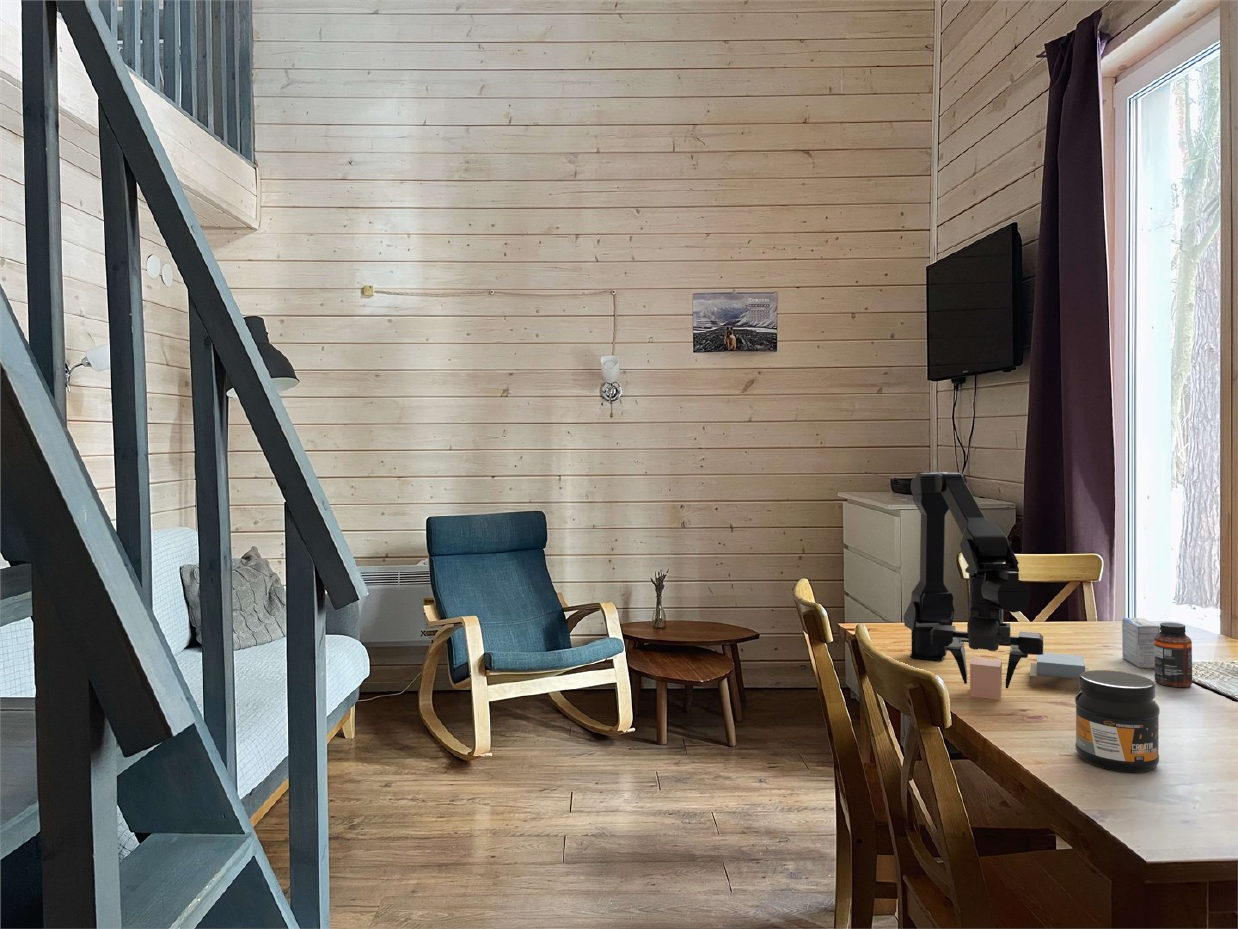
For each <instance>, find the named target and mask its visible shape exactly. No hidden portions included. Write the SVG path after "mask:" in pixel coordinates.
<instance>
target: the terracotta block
mask: <svg viewBox="0 0 1238 929" xmlns="http://www.w3.org/2000/svg"><path fill="white" fill-rule="evenodd" d="M1002 666H1003V662H1002V659H996V658H995V659H994V658H984V657H972V658H971V661H970V663H969V689H970V690H969V694H970V697H975V698H982V699H983V698H984V699H990V700H997V701H998V700H1000V701H1001V699H1002V694H1003V671H1002V670H1003V669H1002V668H1003V667H1002Z"/></svg>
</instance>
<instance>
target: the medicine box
mask: <svg viewBox="0 0 1238 929" xmlns="http://www.w3.org/2000/svg"><path fill="white" fill-rule="evenodd" d="M1121 621H1122V622H1121V626H1122V627H1121V629H1122V630H1121V632H1122V635H1121V637H1122V640H1121V641H1122V646H1121V647H1122V650H1121V651H1122V659H1124V660H1126V661H1128V662H1129V663H1131V664H1133V665H1134V666H1136V667H1137V668H1140V669H1155V658H1154V638H1155V636H1156V635H1157V634H1159V633H1160V632H1161V630H1160V625H1159V624H1157V623H1154V622H1152V621H1150V620H1148V619H1146V618H1143V617H1124V618H1122V620H1121Z"/></svg>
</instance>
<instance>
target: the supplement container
mask: <svg viewBox="0 0 1238 929" xmlns="http://www.w3.org/2000/svg"><path fill="white" fill-rule="evenodd" d="M1079 688H1080V690H1081V691H1078V693H1077V694H1076V695H1075V696H1074V703H1075V751H1076V753H1077V755H1078V756H1079V757H1080V758H1081V759H1083V760H1084V761H1086V762H1087V763H1089V764H1091V765H1094V766H1096V767H1099V768H1102V769H1105V770H1110V771H1114V772H1115V771H1116V772H1123V773H1124V772H1125V773H1143V772H1149V771H1151V770H1153V769H1155V768H1156V767H1157V766H1158V765H1159V762H1160V754H1159V742H1160V741H1159V730H1160V728H1159V727H1160V726H1159V722H1160V720H1159V718H1160V713H1161V711H1160V710H1161V708H1160V705H1159V704H1158V703H1157V702H1156V701H1155V700H1154V699H1156V684H1155V682H1154V681H1153V680H1152V679H1150V678H1148V677H1145V676H1143V675H1139V674H1136V673H1130V672H1124V671H1118V670H1103V669H1101V670H1097V669H1096V670H1094V669H1093V670H1089V671H1086V672H1083V673H1081V674H1080V675H1079Z"/></svg>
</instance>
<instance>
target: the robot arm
mask: <svg viewBox="0 0 1238 929" xmlns="http://www.w3.org/2000/svg"><path fill="white" fill-rule="evenodd" d="M910 491H911V495H912V501H913V503H914V504H915V507H916V508H917V510H918V511H919V514H920V543H919V544H920V547H919V548H920V551H919V555H920V556H919V581H918V582H917V584H916V585H915V587H914V588H913V590H912V591H911V595H910V596H911V597H910V602H909V603H908V606H907V608H906V611H905V612H904V615H903V623H904V626H905V627H906V628H908V629H909V630H911V633H910V634H911V639H910V640H911V653H910V655H909V658H911V657H912V658H911V659H918V660H919V659H921V660H928V661H929V660H931V661H940V662H942V661H943V660H944V659H945V658H944V657H946V656H947V655H948V651H949V652H950V653H951V654H952V656H953V658H954V660H955V662H956V664H957V667H958V669H959V673H960V675H961V678H962V681H963V684H964V685H967V683H968V669H967V659H966V658H967V657H966V651H965V649H966V648H965V643H968V648H970V649H971V650H987V651H989V652H996V651H998V650H999V646H1002V647H1010V650H1009V654H1008V655H1009V656H1008V662H1007V668H1006V669H1007V670H1006V676H1005V689H1009V686H1010V684H1011V681H1012V678H1013V675H1014V672H1015V670H1016V667H1017V666H1018V664H1019V662H1020V661H1021V659H1024V658H1025V659H1027V658H1029V655H1036V656H1037V655H1043V652H1044V636H1043V635H1042V634H1041V633H1040V632H1031V631H1030V632H1029V631H1020V630H1019V631H1018V635H1012V633H1011V623H1010V622H1009V623H1007V622H1004V611H1006V612H1009V613H1019V612H1021V611H1023V610H1024V609H1026V608H1027V607H1028V605H1029V603H1030V601H1031V592H1030V589H1029V587H1028V585H1027V584H1026V583H1025V582H1024V581H1022V580H1020V578H1019V577H1020V574H1019V573H1020V568H1019V564H1020V563H1019V560H1018V559H1017V557H1016V555H1015V552H1014V551H1013V549H1012V546H1011V544H1010V543H1011V542H1010V540H1008V537H1007V536H1006V535H1005V533H1004V532H1003V531H1002V530H1001V529H1000V527H999V526H998V525H996V524H994V523H992V522H990V521H989V520H987V519H986V517H985V515H984V513H983V511H982V510H981V508H980V506H979V505H978V503H977V501H976V499H975V497H974V495H973V494H972V492H971V490H970V488H969V486H968V485H967V478H966V476H965V474H964V473H960V472H946V471H945V472H918V473H917V474H916V475H915V477H913V478H912V479H911V481H910ZM948 511H950V513H951V514H952V517H953V518H954V521H955V523H956V525H957V527H958V529H959V530H960V533H961V535H962V536H961V539H960V542H959V546H960V550H961V555H962V557H963V559H964V561H965V563H966V564H967V566H966V568H965V570H964V572H965V573H967V574H968V621H967V624H966V625H967V629H966V631H959V630H956V625H953V622H954V617H955V616H954V614H955V607H954V595H953V594H952V593H951V592H950V591H949V589H948V588H947V587H946V585H945V539H946V538H945V536H946V535H945V532H946V528H945V527H946V514H947V513H948Z"/></svg>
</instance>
